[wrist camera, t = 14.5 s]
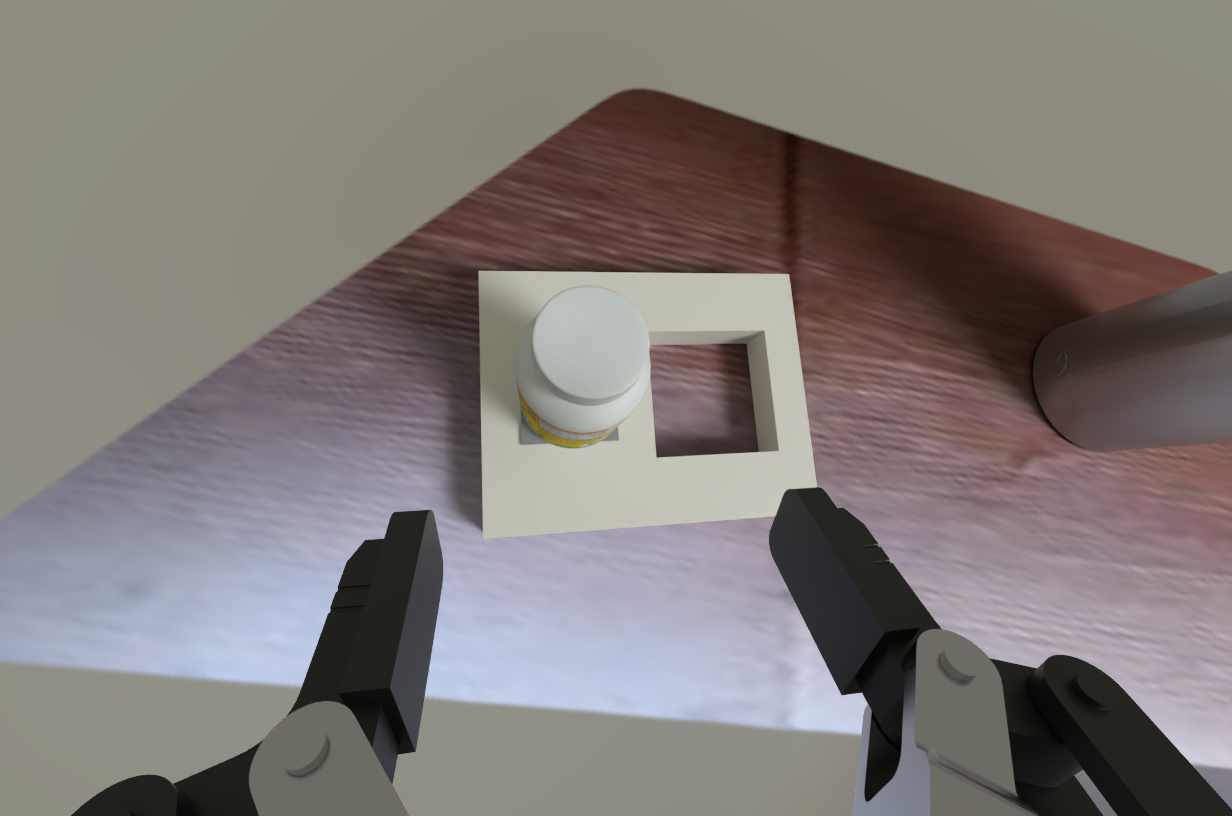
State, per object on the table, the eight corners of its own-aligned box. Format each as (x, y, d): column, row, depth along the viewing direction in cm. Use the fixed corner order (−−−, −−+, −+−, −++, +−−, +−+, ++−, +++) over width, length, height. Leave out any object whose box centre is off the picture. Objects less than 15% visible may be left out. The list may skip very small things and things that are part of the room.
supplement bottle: (609, 461, 25) (651, 440, 16) (507, 435, 25) (488, 397, 15) (632, 364, 26) (684, 291, 17) (535, 337, 26) (534, 247, 16)
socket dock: (769, 291, 32) (790, 272, 29) (796, 511, 29) (822, 512, 27) (483, 290, 29) (478, 269, 26) (488, 534, 26) (482, 539, 24)
